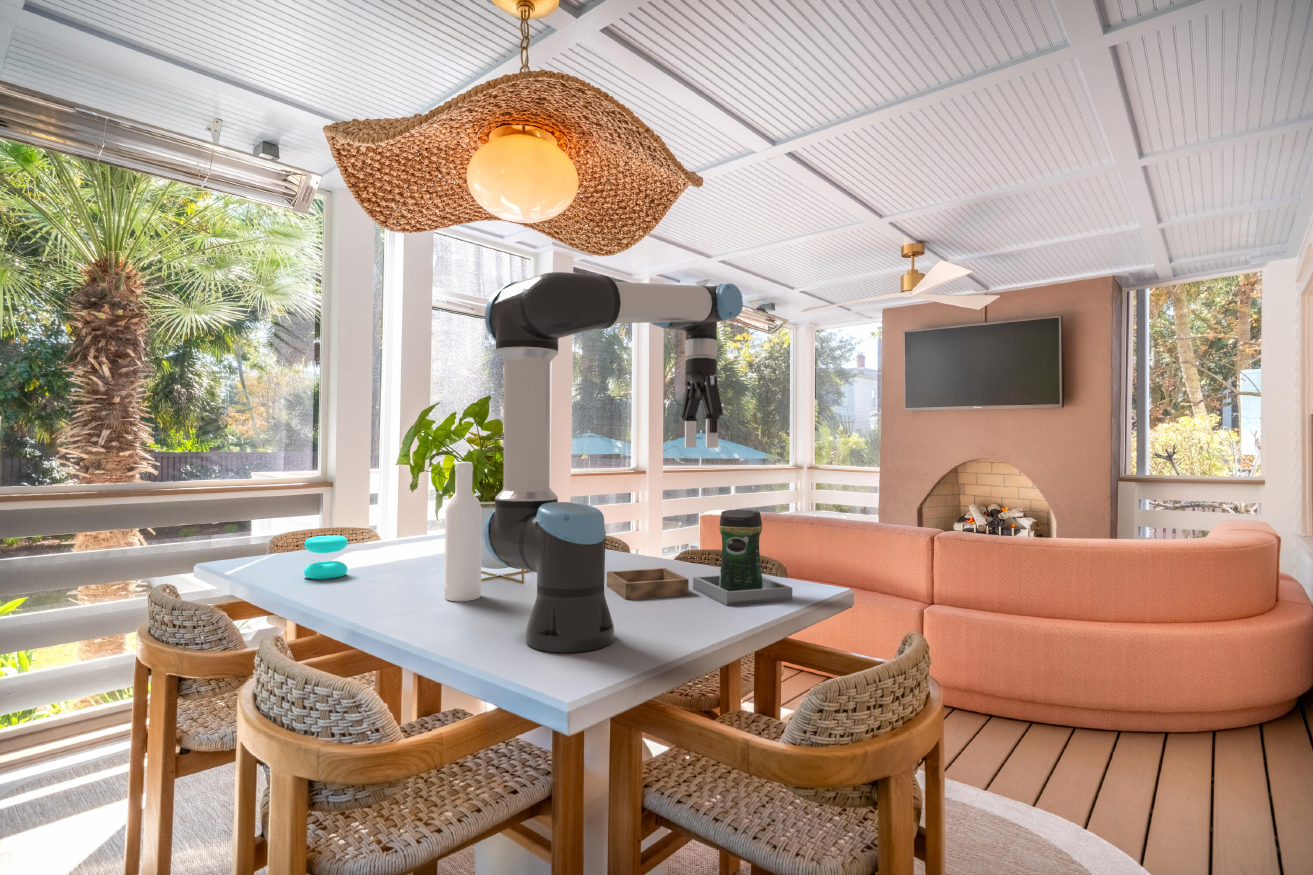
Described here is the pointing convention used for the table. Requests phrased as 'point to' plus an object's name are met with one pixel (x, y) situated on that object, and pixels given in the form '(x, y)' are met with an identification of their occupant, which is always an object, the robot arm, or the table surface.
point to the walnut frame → (647, 583)
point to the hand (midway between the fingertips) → (700, 447)
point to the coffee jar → (740, 550)
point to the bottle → (463, 539)
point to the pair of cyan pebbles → (325, 567)
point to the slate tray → (742, 591)
